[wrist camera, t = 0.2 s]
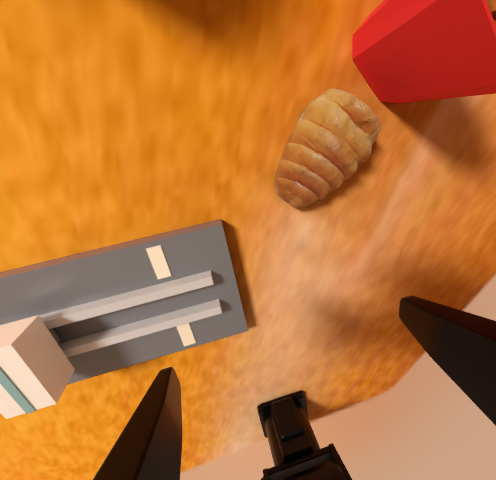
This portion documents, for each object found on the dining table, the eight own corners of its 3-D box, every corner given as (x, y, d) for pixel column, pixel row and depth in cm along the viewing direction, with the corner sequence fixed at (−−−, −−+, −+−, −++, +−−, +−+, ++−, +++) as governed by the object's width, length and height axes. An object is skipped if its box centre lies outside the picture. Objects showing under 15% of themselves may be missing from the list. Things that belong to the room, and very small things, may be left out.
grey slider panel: (245, 321, 27) (250, 339, 24) (33, 383, 24) (15, 409, 22) (220, 219, 22) (223, 228, 20) (-45, 283, 20) (-80, 303, 17)
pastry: (307, 217, 24) (326, 230, 20) (253, 178, 22) (263, 184, 18) (370, 134, 22) (403, 131, 19) (319, 81, 20) (345, 67, 16)
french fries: (427, 82, 21) (722, 1, 9) (391, 122, 22) (624, 93, 10) (371, -20, 18) (724, -352, 6) (330, 31, 18) (575, -179, 7)
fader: (83, 355, 22) (55, 404, 18) (42, 366, 22) (5, 420, 18) (50, 302, 20) (9, 345, 16) (4, 314, 20) (-50, 361, 15)
